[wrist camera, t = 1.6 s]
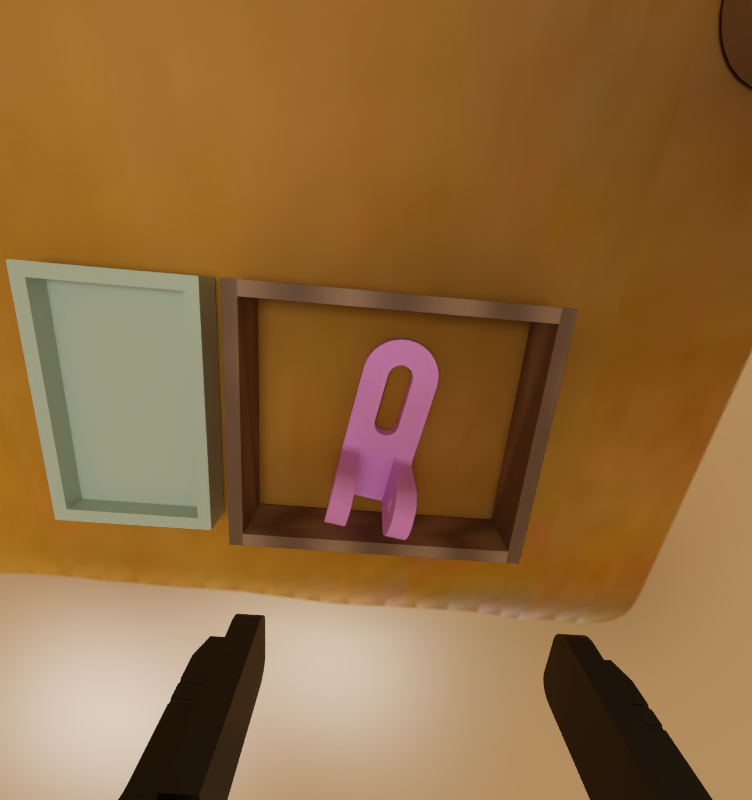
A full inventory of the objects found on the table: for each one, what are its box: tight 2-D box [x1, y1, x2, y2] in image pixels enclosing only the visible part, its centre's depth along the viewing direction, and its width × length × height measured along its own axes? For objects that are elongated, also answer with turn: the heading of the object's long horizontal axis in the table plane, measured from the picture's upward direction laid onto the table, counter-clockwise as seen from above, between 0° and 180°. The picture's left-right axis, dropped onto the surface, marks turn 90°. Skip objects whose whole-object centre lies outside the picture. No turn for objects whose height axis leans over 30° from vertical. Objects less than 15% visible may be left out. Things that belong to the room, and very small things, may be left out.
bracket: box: [324, 338, 438, 540], centre depth 25 cm, size 13×6×7 cm, turn 165°
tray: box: [6, 259, 224, 530], centre depth 26 cm, size 12×19×2 cm, turn 175°
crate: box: [220, 278, 578, 564], centre depth 26 cm, size 22×19×4 cm
